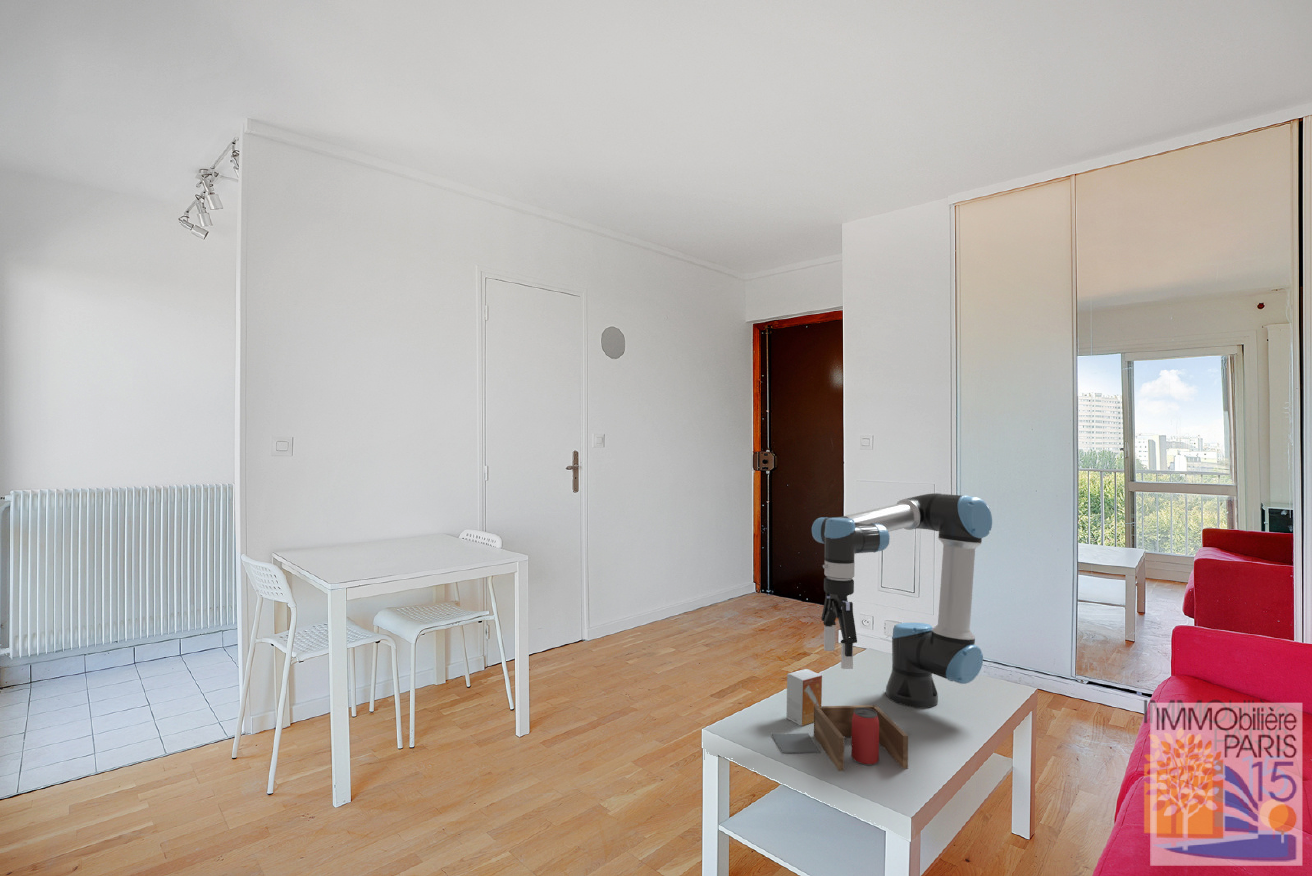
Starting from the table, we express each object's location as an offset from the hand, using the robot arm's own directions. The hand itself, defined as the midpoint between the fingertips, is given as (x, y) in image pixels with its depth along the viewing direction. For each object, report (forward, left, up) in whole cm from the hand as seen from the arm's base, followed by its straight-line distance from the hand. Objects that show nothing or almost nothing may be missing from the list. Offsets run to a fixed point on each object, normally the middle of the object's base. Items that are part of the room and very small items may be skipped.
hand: (837, 659), depth 165 cm
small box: (+3, -17, -23) cm, 29 cm away
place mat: (+10, -3, -23) cm, 25 cm away
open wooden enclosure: (-5, +3, -23) cm, 24 cm away
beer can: (-5, +6, -23) cm, 25 cm away
